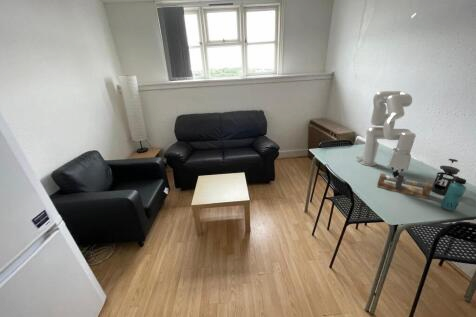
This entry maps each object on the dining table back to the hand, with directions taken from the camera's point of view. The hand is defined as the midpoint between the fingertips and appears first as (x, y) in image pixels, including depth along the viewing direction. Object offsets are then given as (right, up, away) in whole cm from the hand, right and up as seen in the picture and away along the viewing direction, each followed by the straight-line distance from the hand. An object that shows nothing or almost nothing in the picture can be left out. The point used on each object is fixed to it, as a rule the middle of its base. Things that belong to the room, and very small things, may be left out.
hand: (394, 176), depth 137 cm
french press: (+28, -10, -3) cm, 29 cm away
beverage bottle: (+15, -17, -20) cm, 30 cm away
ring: (+3, -6, +1) cm, 7 cm away
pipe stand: (+5, -9, 0) cm, 10 cm away
